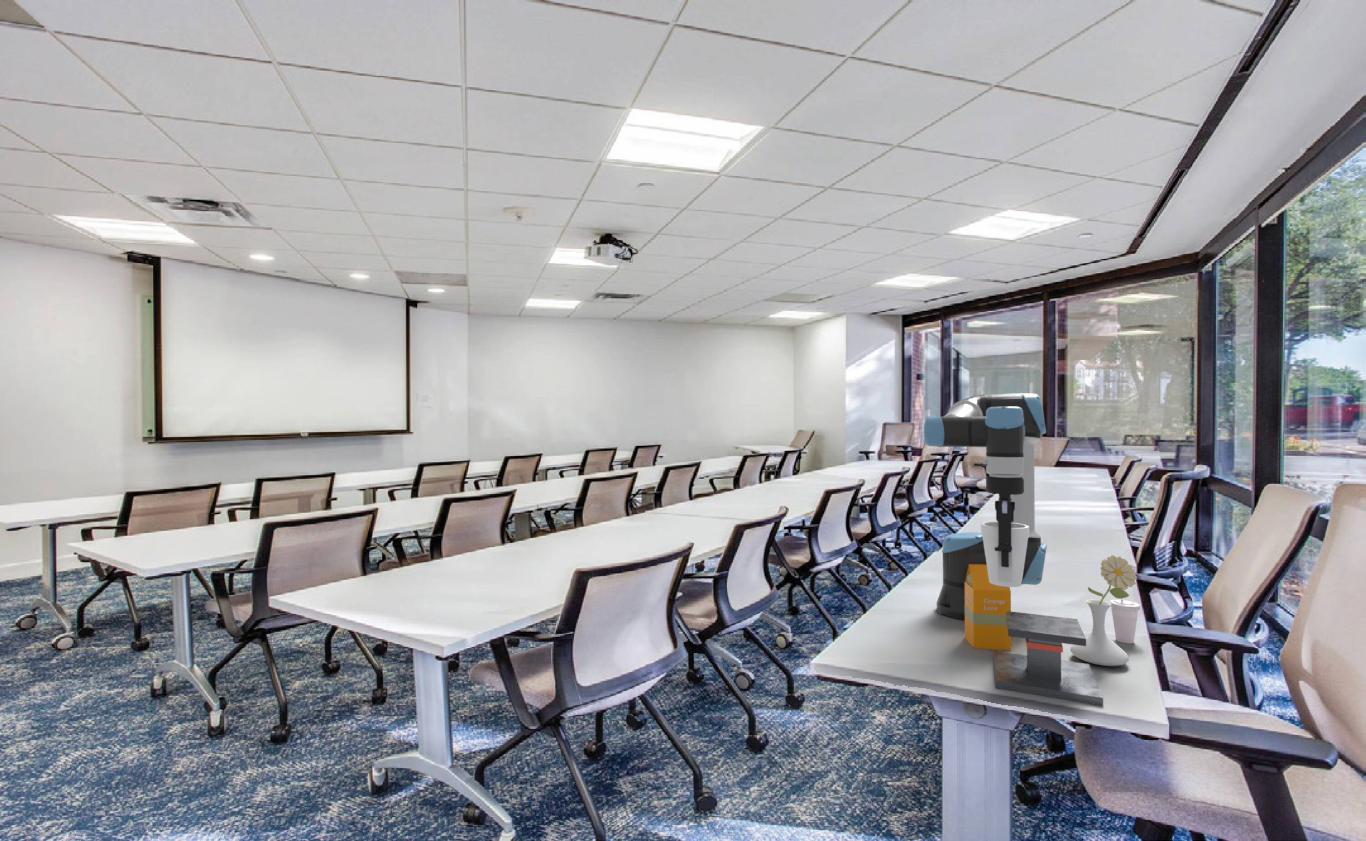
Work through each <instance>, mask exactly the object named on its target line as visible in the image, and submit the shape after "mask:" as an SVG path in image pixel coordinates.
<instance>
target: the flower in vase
mask: <svg viewBox="0 0 1366 841" xmlns="http://www.w3.org/2000/svg"><path fill="white" fill-rule="evenodd" d="M1100 565H1101V567H1100V576H1101V577H1103V579H1104V580H1105V581H1106V583H1107V584H1108V589H1107V590H1106V591H1105V593H1104V594H1103V593H1102V592H1099V591H1096V590H1094V589H1092V588H1091V587H1089V586H1087V590H1088V592H1089V593H1090V594H1093V595H1096V596H1099V597H1102V598H1101V599H1096V598H1095V599H1092V598H1091V599H1090V598H1089V599H1086V600H1085V602H1086V604H1087V605H1088V606H1089V608H1090V611H1091V616H1092V631H1091V633H1090V634H1088V635H1087V636H1085V638H1086V646H1080V645H1073V644H1071V647H1070V652H1071V654H1072V655H1073V656H1074V657H1076V658H1077V659H1080V660H1082V661H1084V662H1087V663H1088V664H1090V663H1091V664H1094V665H1099V666H1103V667H1106V666H1107V667H1118V666H1123V665H1126V664H1127V663H1128V662H1129V661H1130V658H1129V656H1128V653H1126V652H1125V651H1124V649H1122V648H1121V647H1120V646H1119V645H1118V644H1117V643H1115V642H1114V641H1113V640H1112V639H1111V638H1110V637H1109V636H1107V633H1106V630H1105V624H1106V622H1105V620H1106V614H1107V611H1108V609H1109V608H1111V605H1112V604H1111V603H1110V601H1107V600H1106V601H1105V600H1104V599H1105V598H1106V596H1107V594H1109V593H1110V595H1112V596H1113V597H1114V598H1115V599H1117V600H1121V598H1123V599H1125V598H1128V597H1130V595H1129V593H1128V592H1127V591H1126V590H1128V588H1133V586H1135V585H1136V584H1137V583H1136V580H1137V579H1138V576H1136V575H1137V572H1136V570H1135V569H1134V567H1133V565H1132V564H1129V561H1128V560H1127V559H1126V558H1122V557H1121V556H1115V555H1113V554H1112V555H1110V556H1108V557H1107V558H1104V559H1102V560H1101V563H1100ZM1111 587H1113V588H1111Z"/></svg>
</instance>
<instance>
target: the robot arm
mask: <svg viewBox="0 0 1366 841" xmlns="http://www.w3.org/2000/svg"><path fill="white" fill-rule="evenodd" d="M1044 416H1045V415H1044V408H1043V402H1042V397H1041V396H1040V395H1039V394H1037V393H1023V392H1020V393H1019V392H1018V393H1017V392H1016V393H996V394H995V393H994V394H993V393H992V394H987V393H986V394H978V395H972V396H969V397H966V398H963V399H961V400H958V401H957V402H954V403H953V404H952V405H951V406H950V407H949V409H948V411H947V413H946V414H945V415H944V416H939V415H938V416H937V415H936V416H929V417H928V416H927V417H926V419H925V421H924V425H923V436H924V442H925V444H926V445H927V446H929V447H938V448H942V447H944V448H945V447H946V448H947V447H948V448H949V447H951V448H955V447H956V448H985V449H986V450H985V456H986V457H985V458H986V459H985V460H983V461H982V464H983V465H985V469H986V470H985V472H986V474H988V475H987V477H985V491H986V492H987V493H988V494H992V495H998V500H994V509H995V521H996V522H998V547H995V551H998V581H1003V582H1012V546H1011V523H1019V524H1024V525H1027V526H1029V538H1028V542H1027V549H1026V556H1025V563H1024V570H1023V577H1022V582H1021V586H1024V585H1031V586H1033V585H1034V586H1035V585H1036V586H1037V585H1039V584H1040V583H1042V580H1043V576H1044V575H1043V574H1044V567H1045V562H1046V556H1047V555H1046V554H1047V546H1048V545H1047V544H1046V543H1044V542H1042V537H1041V535H1040V534H1039V533H1038V532H1037V531H1036V528H1035V525H1036V524H1035V523H1036V522H1035V521H1036V520H1035V519H1036V517H1035V512H1036V510H1035V508H1036V507H1035V504H1036V503H1035V501H1036V500H1035V446H1036V445H1037V444H1038V443H1039V442H1040V441H1041V435H1044V434H1046V433H1047V429H1046V428H1047V427H1046V422H1045V417H1044ZM1006 544H1008V545H1006ZM941 552H942V586H941V589H940V592H939V595H938V598H937V601H936V611H937V612H938V613H939V614H941V615H944V616H945V617H948V618H952V619H957V620H963V621H965V579H966V575H967V571H968V567H969V564H985V565H987V563H986V556H985V550H984V543H983V536H982V534H981V532H977V531H976V532H975V531H971V532H958V533H957V532H956V533H951V534H948V535H946V536H945V537H944V538H943V540H942V550H941Z"/></svg>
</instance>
